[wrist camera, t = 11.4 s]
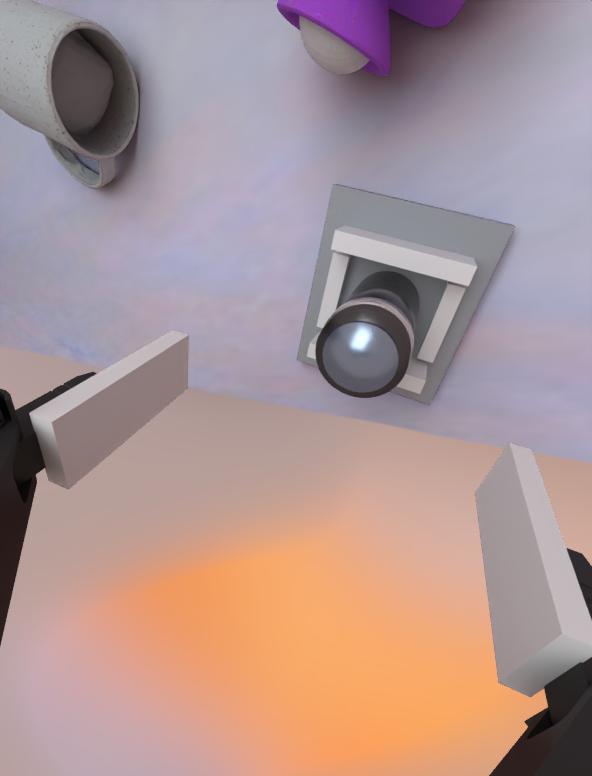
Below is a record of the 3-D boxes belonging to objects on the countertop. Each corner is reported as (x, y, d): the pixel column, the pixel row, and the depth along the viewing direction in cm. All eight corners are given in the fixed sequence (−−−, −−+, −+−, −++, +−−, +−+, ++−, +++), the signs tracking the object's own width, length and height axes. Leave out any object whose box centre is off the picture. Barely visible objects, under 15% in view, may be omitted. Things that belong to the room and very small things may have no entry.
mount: (300, 354, 33) (284, 374, 30) (337, 184, 26) (321, 184, 22) (429, 397, 31) (428, 424, 28) (511, 224, 23) (523, 232, 20)
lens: (382, 349, 29) (357, 417, 21) (337, 303, 29) (293, 353, 20) (436, 306, 26) (433, 365, 18) (387, 253, 26) (360, 289, 17)
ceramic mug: (49, 9, 27) (-72, -41, 20) (142, 42, 26) (45, 1, 19) (62, 169, 33) (-28, 168, 27) (138, 201, 32) (63, 208, 26)
